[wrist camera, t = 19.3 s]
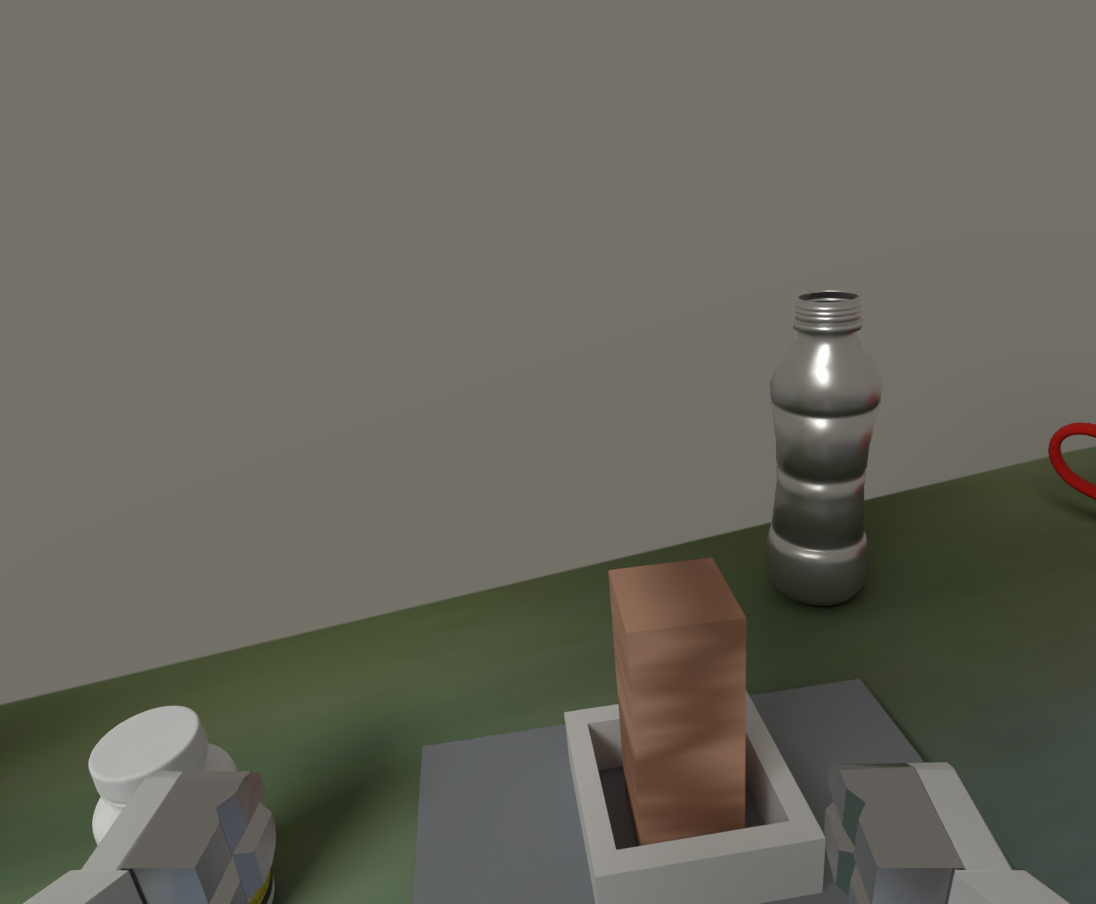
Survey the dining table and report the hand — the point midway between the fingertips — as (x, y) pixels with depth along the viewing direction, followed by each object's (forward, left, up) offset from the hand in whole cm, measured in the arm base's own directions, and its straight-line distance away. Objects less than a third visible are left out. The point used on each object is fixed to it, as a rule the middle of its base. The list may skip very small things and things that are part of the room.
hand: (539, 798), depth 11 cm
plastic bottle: (+20, +33, -21) cm, 44 cm away
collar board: (+6, +16, -21) cm, 27 cm away
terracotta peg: (+6, +16, -20) cm, 26 cm away
